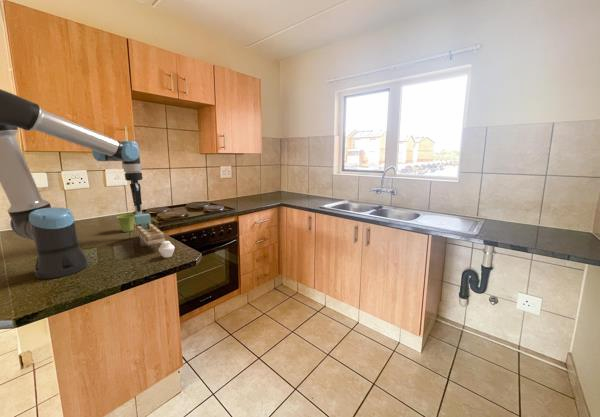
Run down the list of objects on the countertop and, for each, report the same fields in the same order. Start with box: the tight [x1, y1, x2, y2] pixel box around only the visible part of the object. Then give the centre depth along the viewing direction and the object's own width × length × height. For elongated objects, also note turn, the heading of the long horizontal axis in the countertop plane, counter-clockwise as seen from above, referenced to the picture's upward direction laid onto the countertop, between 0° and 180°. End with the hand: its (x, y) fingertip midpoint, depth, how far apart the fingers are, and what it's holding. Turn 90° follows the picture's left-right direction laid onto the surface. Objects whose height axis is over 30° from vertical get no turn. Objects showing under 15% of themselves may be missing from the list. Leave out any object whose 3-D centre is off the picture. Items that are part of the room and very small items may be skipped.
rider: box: [134, 212, 152, 229], centre depth 134 cm, size 5×6×7 cm
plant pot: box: [116, 213, 136, 233], centre depth 151 cm, size 9×9×9 cm
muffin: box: [158, 240, 175, 259], centre depth 112 cm, size 6×6×7 cm
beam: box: [133, 222, 166, 248], centre depth 128 cm, size 32×7×8 cm, turn 41°
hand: (139, 217), depth 139 cm, fingers closed
